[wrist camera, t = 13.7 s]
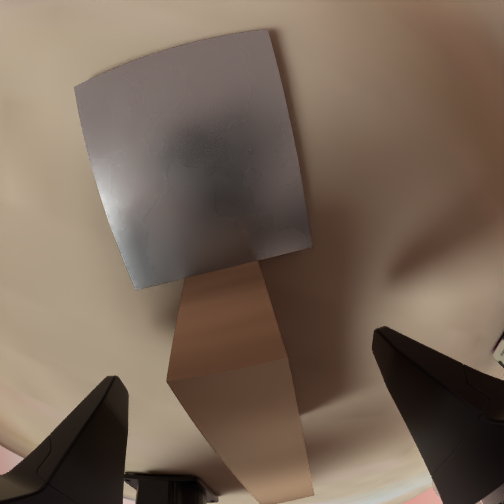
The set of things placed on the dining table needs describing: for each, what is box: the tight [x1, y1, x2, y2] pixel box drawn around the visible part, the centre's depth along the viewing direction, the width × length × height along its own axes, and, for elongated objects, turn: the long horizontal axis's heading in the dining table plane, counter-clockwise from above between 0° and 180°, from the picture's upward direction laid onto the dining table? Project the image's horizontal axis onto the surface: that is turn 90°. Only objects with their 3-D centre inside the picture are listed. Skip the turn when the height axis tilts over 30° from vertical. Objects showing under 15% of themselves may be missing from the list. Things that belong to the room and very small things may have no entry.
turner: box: [74, 29, 314, 504], centre depth 8 cm, size 17×6×5 cm, turn 12°
